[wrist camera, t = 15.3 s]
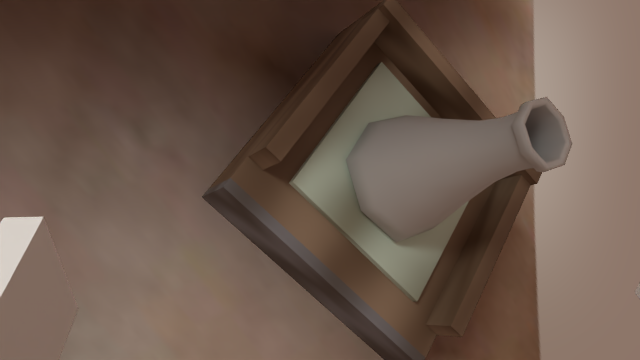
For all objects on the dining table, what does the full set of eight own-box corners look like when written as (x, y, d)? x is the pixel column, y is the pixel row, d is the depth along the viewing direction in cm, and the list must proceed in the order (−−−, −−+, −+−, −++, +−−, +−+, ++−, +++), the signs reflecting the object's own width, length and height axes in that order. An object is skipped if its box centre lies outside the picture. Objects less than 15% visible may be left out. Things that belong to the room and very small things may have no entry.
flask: (461, 197, 34) (618, 162, 26) (391, 265, 30) (549, 252, 22) (403, 97, 33) (546, 27, 25) (323, 154, 29) (461, 95, 21)
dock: (202, 196, 29) (244, 176, 24) (338, 34, 36) (391, -6, 31) (387, 362, 33) (453, 372, 28) (477, 187, 40) (541, 172, 35)
